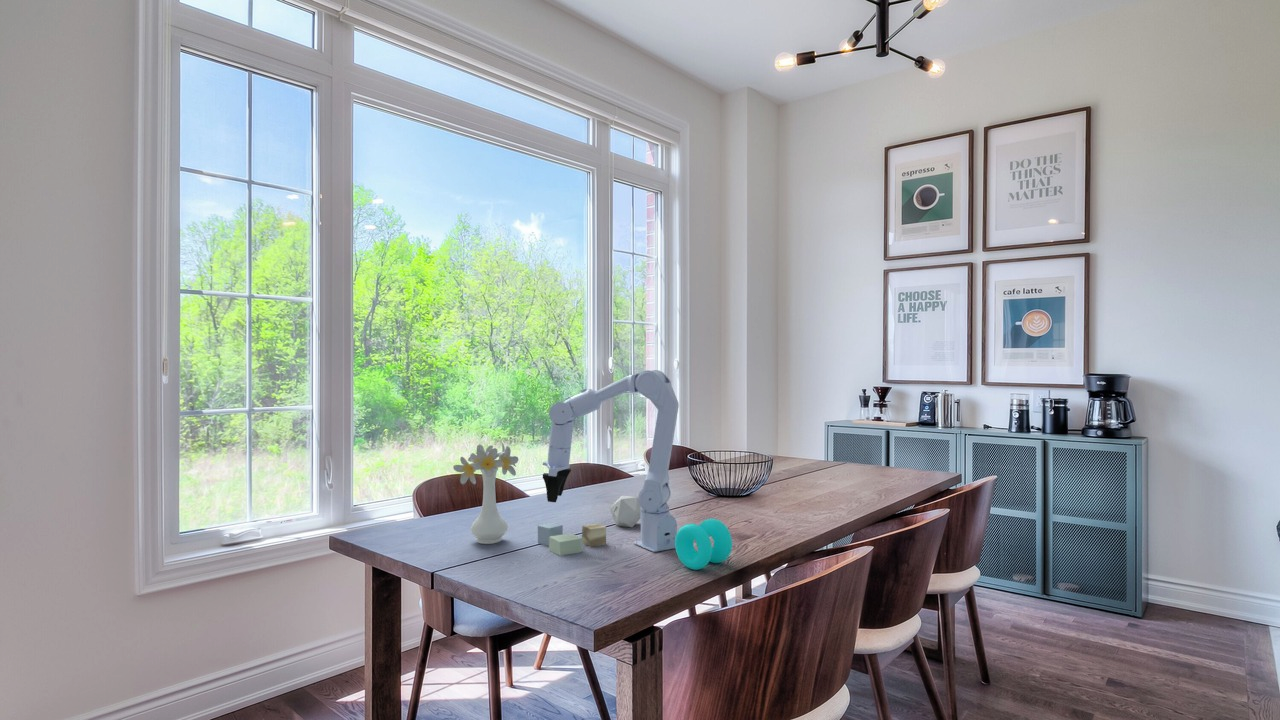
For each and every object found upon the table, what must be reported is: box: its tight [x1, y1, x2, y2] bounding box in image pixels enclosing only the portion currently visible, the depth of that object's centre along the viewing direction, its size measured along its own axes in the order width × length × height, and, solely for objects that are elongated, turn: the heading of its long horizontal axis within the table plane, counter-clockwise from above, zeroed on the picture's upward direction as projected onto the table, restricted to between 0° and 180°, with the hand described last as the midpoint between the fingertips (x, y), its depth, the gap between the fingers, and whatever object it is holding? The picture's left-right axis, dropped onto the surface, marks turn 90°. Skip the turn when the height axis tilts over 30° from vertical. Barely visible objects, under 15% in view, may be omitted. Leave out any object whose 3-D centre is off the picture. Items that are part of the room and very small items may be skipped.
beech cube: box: [581, 523, 607, 548], centre depth 170 cm, size 4×4×4 cm
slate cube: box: [537, 522, 564, 547], centre depth 171 cm, size 4×4×4 cm
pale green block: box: [548, 532, 583, 557], centre depth 163 cm, size 6×6×4 cm
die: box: [609, 495, 641, 528], centre depth 189 cm, size 8×9×10 cm
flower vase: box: [452, 442, 519, 545], centre depth 172 cm, size 13×18×25 cm
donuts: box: [674, 518, 733, 571], centre depth 151 cm, size 10×10×10 cm
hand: (554, 498), depth 175 cm, fingers open, 7 cm apart
